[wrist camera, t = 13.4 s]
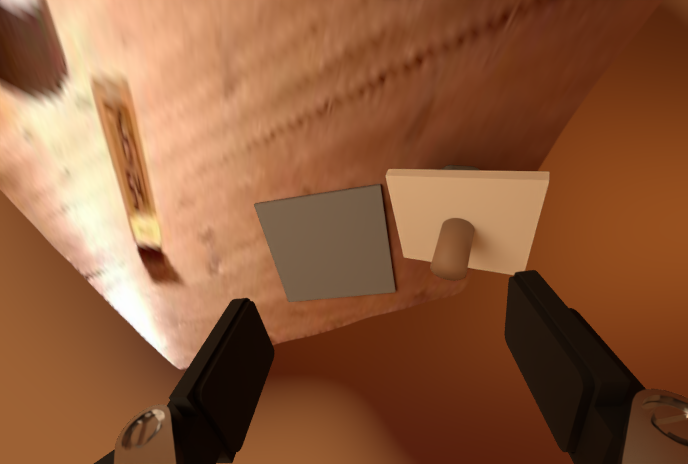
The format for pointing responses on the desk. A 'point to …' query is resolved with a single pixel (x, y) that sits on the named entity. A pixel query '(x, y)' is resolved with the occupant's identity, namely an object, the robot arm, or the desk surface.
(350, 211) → the slate mat
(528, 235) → the cover board
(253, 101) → the desk surface
